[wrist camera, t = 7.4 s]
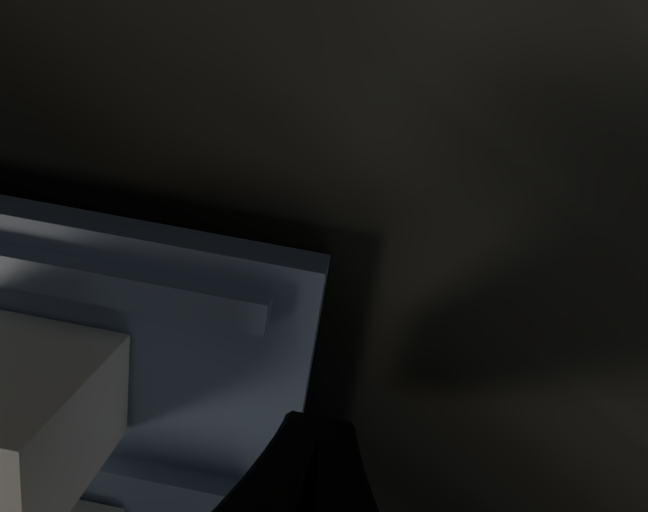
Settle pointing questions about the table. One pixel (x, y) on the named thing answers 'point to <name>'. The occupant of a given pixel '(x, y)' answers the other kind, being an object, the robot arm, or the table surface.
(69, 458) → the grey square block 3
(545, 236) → the table surface
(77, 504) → the gray block
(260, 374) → the switch bank
